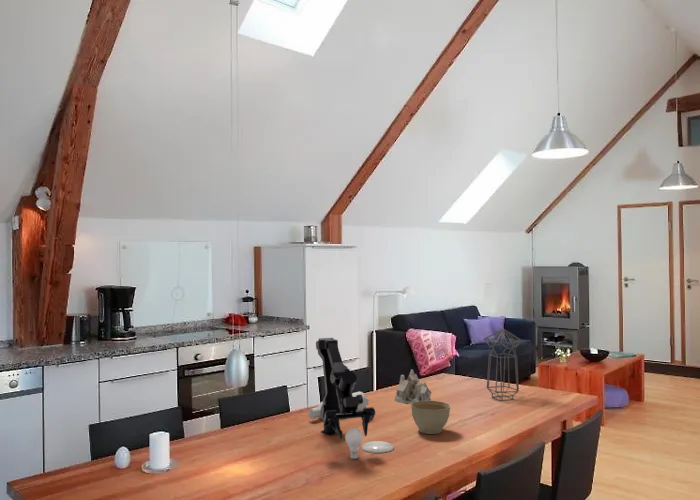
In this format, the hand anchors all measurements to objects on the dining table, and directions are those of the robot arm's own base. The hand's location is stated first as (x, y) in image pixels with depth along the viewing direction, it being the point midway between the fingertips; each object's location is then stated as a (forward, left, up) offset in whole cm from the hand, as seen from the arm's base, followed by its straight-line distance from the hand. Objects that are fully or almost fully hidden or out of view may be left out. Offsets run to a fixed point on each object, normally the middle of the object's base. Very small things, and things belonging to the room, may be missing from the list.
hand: (353, 436), depth 217 cm
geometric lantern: (-14, +116, -8) cm, 117 cm away
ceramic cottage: (-43, +79, -8) cm, 90 cm away
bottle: (-48, +34, -8) cm, 59 cm away
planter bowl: (-3, +46, -8) cm, 47 cm away
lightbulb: (0, 0, -8) cm, 8 cm away
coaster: (-3, +15, -8) cm, 17 cm away
